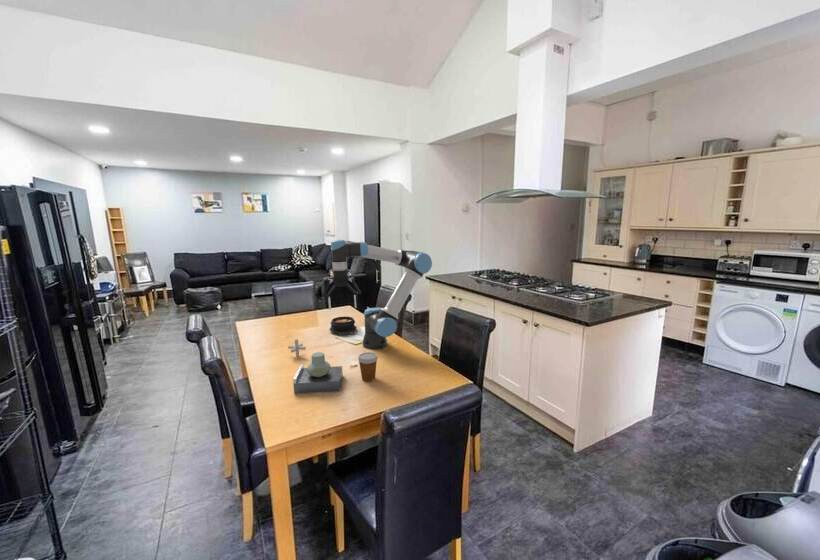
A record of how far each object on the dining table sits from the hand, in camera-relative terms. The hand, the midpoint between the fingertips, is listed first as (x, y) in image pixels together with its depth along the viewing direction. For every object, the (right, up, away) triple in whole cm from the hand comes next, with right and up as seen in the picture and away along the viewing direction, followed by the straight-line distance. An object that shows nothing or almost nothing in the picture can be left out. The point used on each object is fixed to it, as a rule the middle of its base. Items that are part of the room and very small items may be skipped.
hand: (342, 308), depth 188 cm
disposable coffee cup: (+16, -33, -18) cm, 41 cm away
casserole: (-10, -20, +54) cm, 59 cm away
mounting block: (-7, -34, -23) cm, 42 cm away
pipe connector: (-28, -28, +11) cm, 41 cm away
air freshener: (-7, -29, -24) cm, 38 cm away
